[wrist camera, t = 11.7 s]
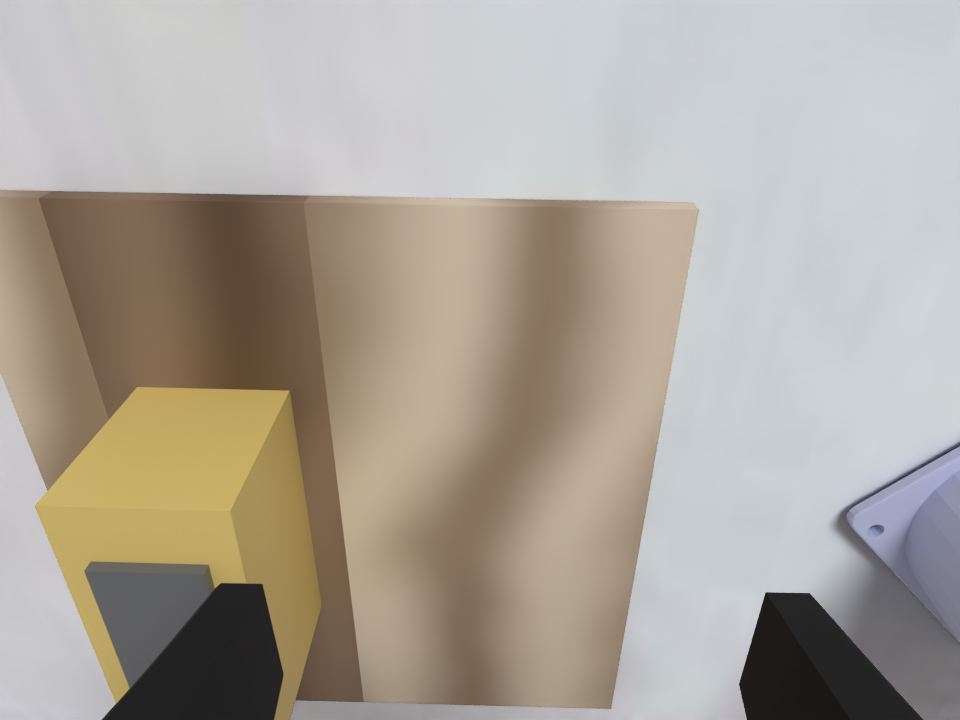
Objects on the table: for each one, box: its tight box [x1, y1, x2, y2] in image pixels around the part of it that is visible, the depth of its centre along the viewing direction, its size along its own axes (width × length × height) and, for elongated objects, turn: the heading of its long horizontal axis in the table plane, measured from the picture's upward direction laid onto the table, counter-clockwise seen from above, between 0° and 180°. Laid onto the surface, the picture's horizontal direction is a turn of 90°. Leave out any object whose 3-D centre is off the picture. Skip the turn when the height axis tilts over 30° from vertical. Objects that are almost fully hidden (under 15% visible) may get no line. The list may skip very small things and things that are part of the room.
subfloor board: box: [0, 190, 699, 709], centre depth 22 cm, size 19×20×1 cm
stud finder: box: [35, 387, 322, 720], centre depth 19 cm, size 4×9×5 cm, turn 179°
